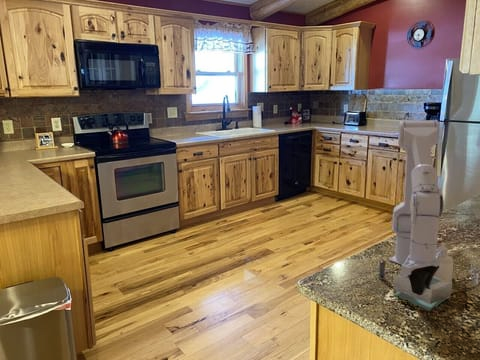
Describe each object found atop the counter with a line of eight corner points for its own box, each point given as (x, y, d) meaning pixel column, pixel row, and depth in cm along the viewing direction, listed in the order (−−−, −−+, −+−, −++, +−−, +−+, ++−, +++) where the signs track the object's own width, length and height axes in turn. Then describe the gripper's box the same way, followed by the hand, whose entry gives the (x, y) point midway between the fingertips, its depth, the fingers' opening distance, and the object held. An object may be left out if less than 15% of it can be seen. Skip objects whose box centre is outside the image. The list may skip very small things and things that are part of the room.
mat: (415, 283, 104) (415, 281, 104) (448, 297, 97) (449, 295, 96) (395, 295, 98) (395, 293, 98) (429, 310, 91) (429, 308, 91)
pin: (380, 275, 109) (381, 259, 107) (386, 278, 107) (387, 261, 106) (377, 277, 108) (377, 261, 106) (382, 280, 106) (383, 263, 105)
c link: (413, 281, 104) (415, 269, 103) (450, 295, 96) (452, 282, 95) (392, 288, 98) (394, 275, 98) (430, 304, 90) (432, 290, 90)
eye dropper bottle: (448, 290, 100) (452, 248, 97) (425, 283, 103) (429, 243, 101) (453, 283, 103) (457, 243, 100) (431, 277, 106) (434, 238, 104)
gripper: (423, 254, 83) (419, 309, 86) (456, 237, 91) (451, 288, 94) (394, 244, 88) (391, 296, 92) (427, 229, 96) (423, 277, 100)
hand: (419, 291), depth 93 cm, fingers closed on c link, 2 cm apart
